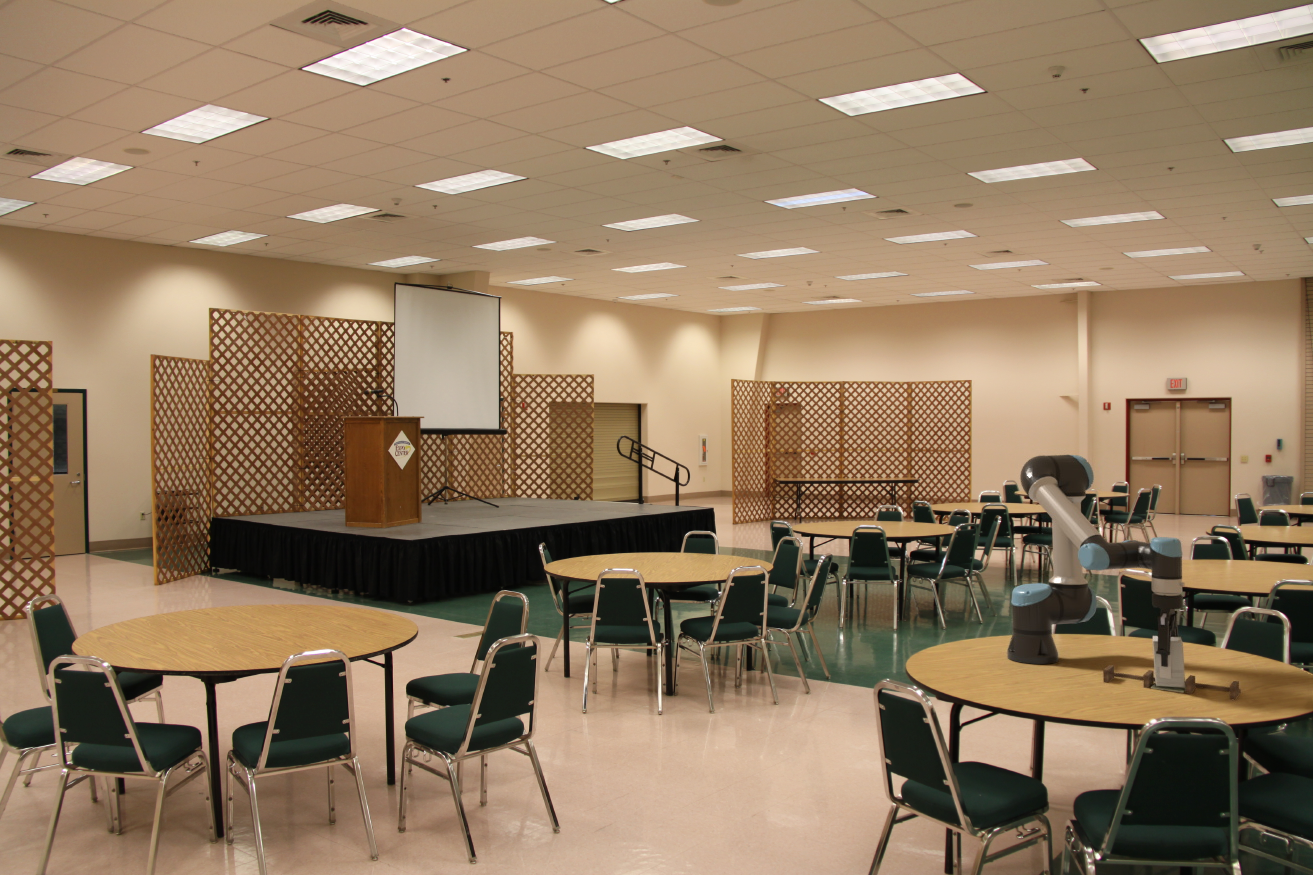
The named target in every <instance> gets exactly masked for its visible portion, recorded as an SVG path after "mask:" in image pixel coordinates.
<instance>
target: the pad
mask: <svg viewBox="0 0 1313 875" xmlns="http://www.w3.org/2000/svg"><path fill="white" fill-rule="evenodd" d="M1150 689H1154V690H1161V691H1170V692H1175V693H1176V692H1177V693H1182V694H1183V693H1186V686H1185V687H1170V686H1156V682H1154V683H1153V684H1152V685H1151V686H1150Z"/></svg>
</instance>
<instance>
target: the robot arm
mask: <svg viewBox="0 0 1313 875" xmlns="http://www.w3.org/2000/svg"><path fill="white" fill-rule="evenodd" d="M1021 468H1022V469H1021V471H1020V478H1019V479H1020V484H1021V487H1022V489H1023V491H1024V493H1025V494H1026V495H1027V496H1028V497H1029V499H1030V500H1032V501H1033V502H1038V504H1039V505H1040V506H1041V507H1042V508H1043V510H1044V511H1045V512H1046V513H1047V514H1048V515H1049V517H1050V518H1051V524H1052V526H1051V527H1052V561H1053V562H1052V563H1053V564H1052V566H1053V574H1052V575H1053V576H1051V577H1050V578H1049V579H1048V583H1041V582H1036V583H1026V584H1021V585H1018V586H1016V587H1014V588H1013V590H1012V594H1011V601H1010V603H1011V613H1012V614H1011V618H1012V634H1011V636H1010V641H1009V644H1008V647H1007V652H1006V654H1007V656H1006V657H1007V659H1009V660H1011V661H1013V662H1017V663H1018V662H1019V663H1022V664H1034V665H1045V664H1054V663H1055V664H1056V663H1057V662H1059V652H1058V649H1057V646H1056V643H1055V640H1054V638H1053V629H1052V628H1053V627H1052V626H1053V625H1063V624H1073V625H1075V624H1079V623H1083V622H1088V621H1089V620H1091V618H1092V617H1093V616H1094V615H1095V613H1096V610H1097V605H1098V599H1097V595H1096V594H1095V591H1094V590H1093V588H1091V587H1090V586H1089V582H1088V580H1087V579H1086V578H1084V575H1083V569H1085V570H1088V571H1106V570H1108V571H1109V570H1121V569H1124V570H1125V569H1146V570H1151V591H1152V592H1153V593H1152V594H1151V602H1152V603H1151V604H1152V606H1153V608H1158V609H1160V613H1158V616H1157V617H1156V618H1157V636H1158V650H1157V651H1156V654H1159V661H1160V678H1167V679H1171V655H1170V642H1171V637H1179V626H1178V625H1179V624H1178V613H1179V612H1178V611H1177V610H1180V609H1182V608H1183V607H1184V601H1183V600H1184V598H1183V594H1182V593H1183V587H1184V586H1185V582H1183V551H1182V541H1181V540H1180V539H1179V538H1176V537H1169V536H1168V537H1167V536H1166V537H1165V536H1157V537H1152V538H1151V540H1150V542H1147V541H1138V540H1129V539H1128V540H1123V541H1122V542H1108V541H1107V540H1106V538H1105V537H1104V536H1103V535H1102V534H1101V533H1100V531H1098V530H1097V529H1096V527H1095V526H1094V525H1093V524H1092V523H1091V522H1090V521H1089V520H1088V518H1087V517H1086V516H1085V515H1084V514H1083V513H1082V508H1081V506H1082V505H1081V504H1082V501H1083V500H1084V499H1085V498H1086V493H1087V492H1086V491H1087V490H1089V489H1091V487H1092V485H1093V483H1094V479H1095V477H1094V470H1093V468H1092V465H1091V464H1090V463H1089V461H1088V460H1087V459H1086V458H1084V457H1083V456H1081V455H1076V454H1075V455H1074V454H1059V455H1056V454H1054V455H1036V456H1034V457H1031V458H1030V459H1029V460H1027V461H1026V462H1025V463H1024V464H1023V466H1022V467H1021Z"/></svg>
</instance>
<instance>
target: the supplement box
mask: <svg viewBox="0 0 1313 875" xmlns="http://www.w3.org/2000/svg"><path fill="white" fill-rule="evenodd" d="M1152 648H1153V665H1154V666H1153V667H1154V677H1155V681H1156V682H1155V683H1156V686H1170V687H1185V680H1186V675H1185V674H1186V673H1185V659H1184V658H1185V657H1184V642H1183V639H1182V637H1181V636H1178V637H1171V642H1170V655H1171V679H1167V678H1160V661H1159V654H1156V651H1157V650H1158V635H1152Z"/></svg>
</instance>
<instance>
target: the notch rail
mask: <svg viewBox="0 0 1313 875" xmlns="http://www.w3.org/2000/svg"><path fill="white" fill-rule="evenodd" d="M1102 670H1103V674H1102V678H1103V680H1102V681H1103V683H1110V682H1111V681H1112V680H1114V678H1115V677H1117V678H1122V679H1123V678H1124V679H1131V680H1138V681H1139V680H1140V681H1143V682H1142V683H1143V689H1144V688H1145V689H1149V688H1151V687H1152V686H1153V685H1154V684H1155V683H1156V681H1155V670H1153V669H1148V670H1147V671H1146V672H1145V673H1144V674H1143V675H1138V674H1131V673H1121V672H1115V666H1114V665H1113V664H1112V665H1111V664H1109V665H1107V667H1105V668H1104V669H1102ZM1185 686H1186V690H1185V694H1187V695H1192V693H1193V692H1194V691H1195V690H1196V688H1200V689H1206V690H1212V691H1213V690H1215V691H1222V692H1227V693H1229V700H1232V701H1236V700H1237V699H1238V697H1239V696H1240V693H1241V690H1242V689H1241V688H1240V681H1238V680H1233V681H1232V683H1231V684H1230V685H1229V686H1222V685H1216V684H1209V683H1208V684H1207V683H1199V682H1196V675H1191V674H1190V675H1189V676H1188V677H1187V678H1185Z"/></svg>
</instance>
